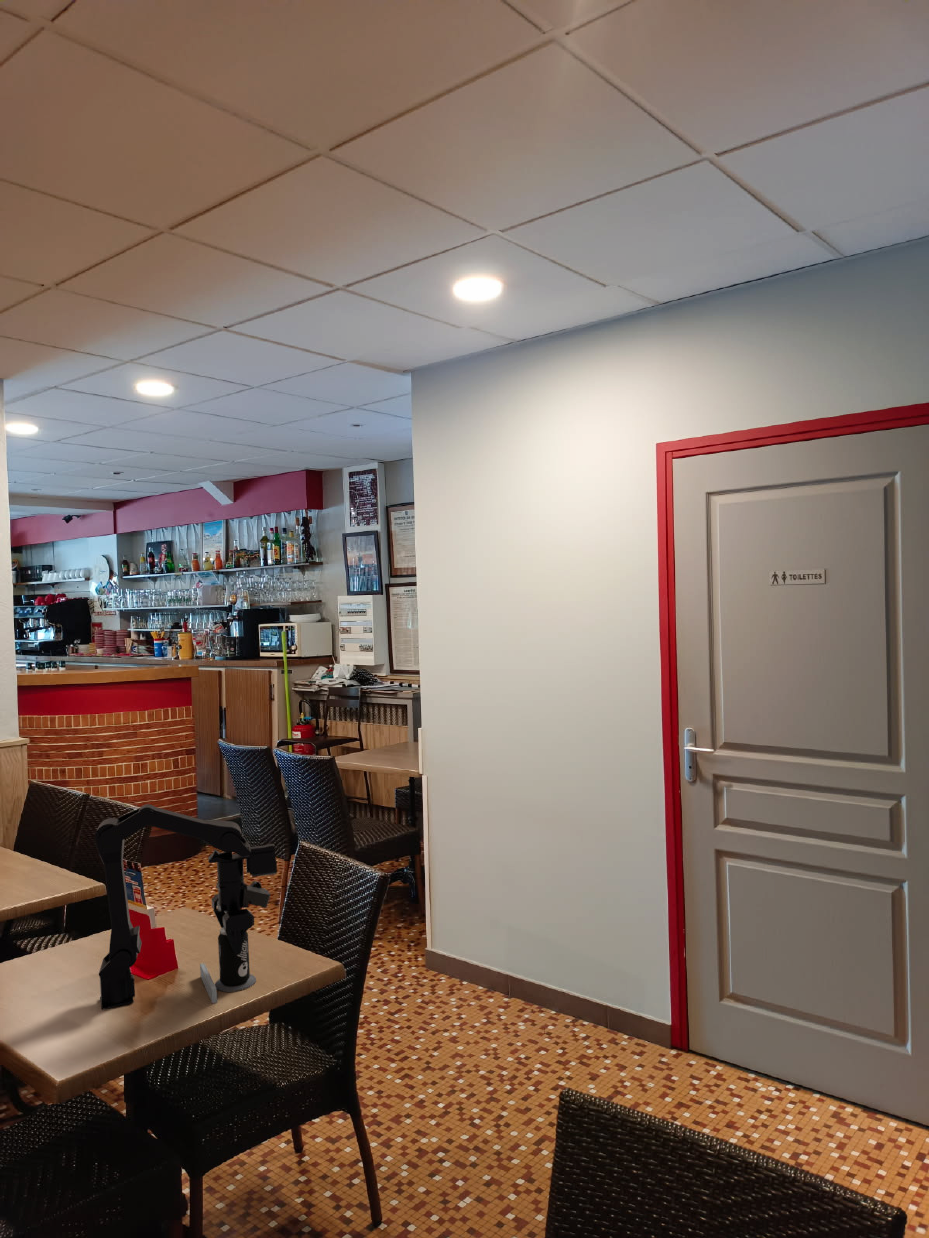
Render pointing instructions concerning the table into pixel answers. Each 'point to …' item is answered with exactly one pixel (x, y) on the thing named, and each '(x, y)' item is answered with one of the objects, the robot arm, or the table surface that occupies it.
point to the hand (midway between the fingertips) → (233, 947)
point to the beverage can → (233, 961)
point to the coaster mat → (224, 988)
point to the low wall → (208, 983)
